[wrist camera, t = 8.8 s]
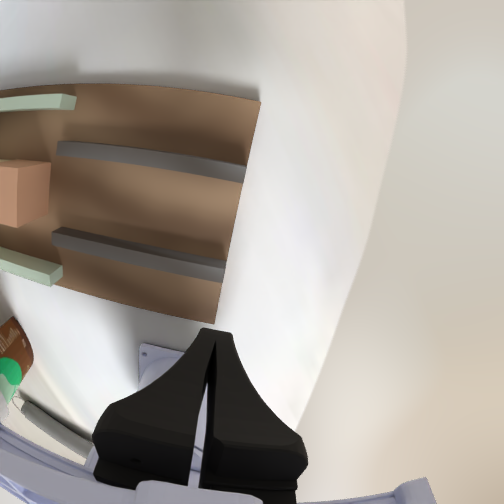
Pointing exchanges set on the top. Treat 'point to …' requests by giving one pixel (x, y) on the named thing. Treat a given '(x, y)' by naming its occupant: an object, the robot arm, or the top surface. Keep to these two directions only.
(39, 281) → the tray
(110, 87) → the groove board
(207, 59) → the top surface
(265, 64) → the top surface
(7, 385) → the food container
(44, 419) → the kitchen whisk
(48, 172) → the terracotta block
